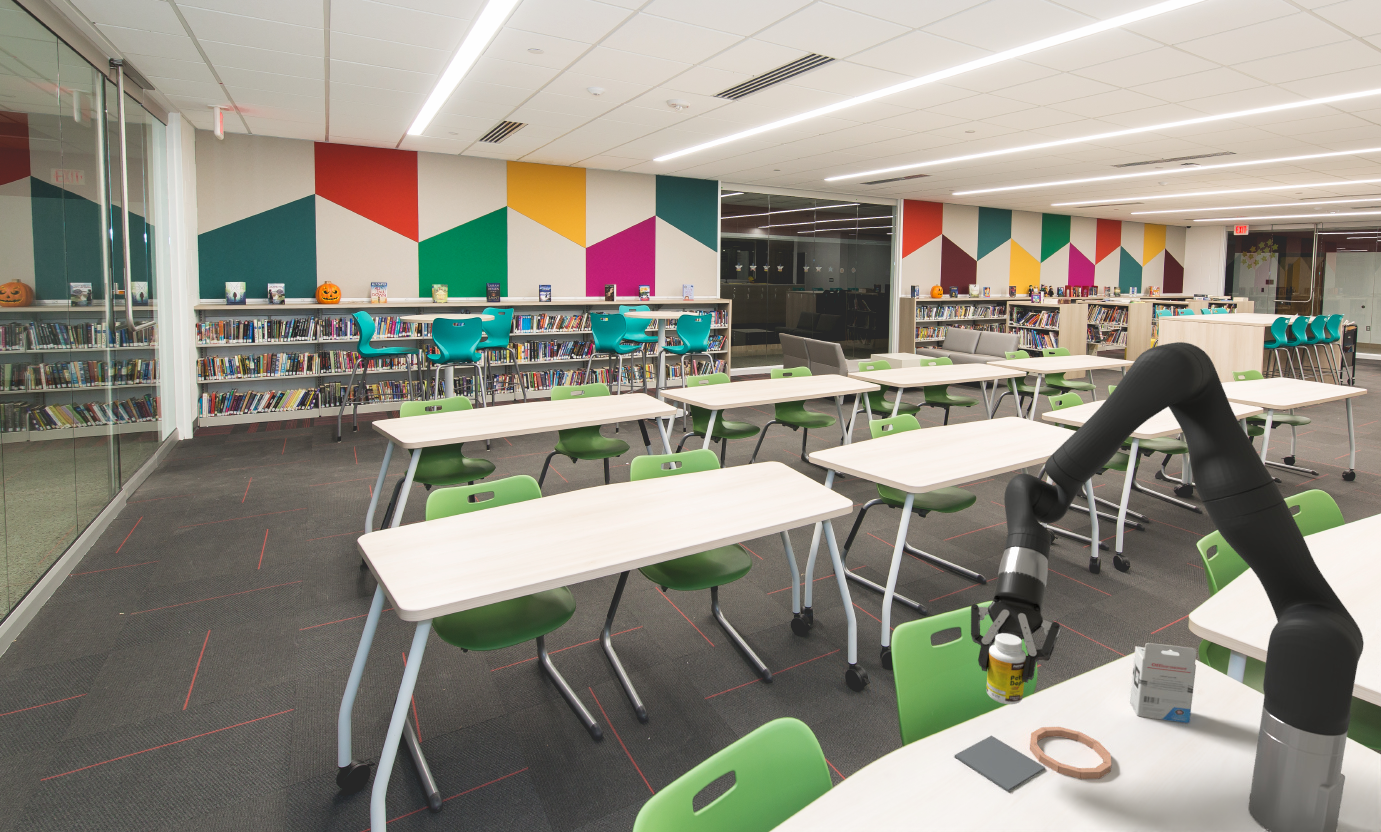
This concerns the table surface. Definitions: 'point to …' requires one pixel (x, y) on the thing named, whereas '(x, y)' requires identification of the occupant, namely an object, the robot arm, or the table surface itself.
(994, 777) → the mat
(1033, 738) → the faceted open ring
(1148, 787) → the table surface
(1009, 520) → the robot arm
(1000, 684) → the supplement bottle
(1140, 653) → the ink box
